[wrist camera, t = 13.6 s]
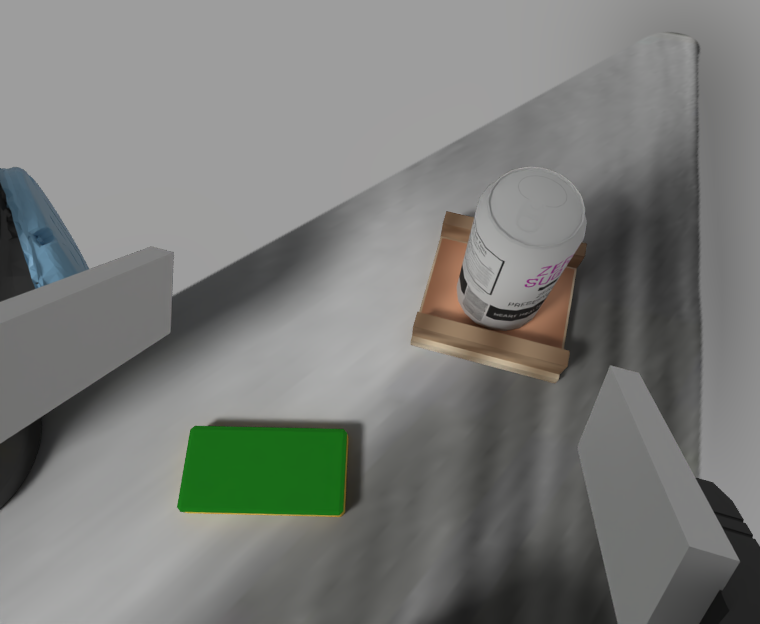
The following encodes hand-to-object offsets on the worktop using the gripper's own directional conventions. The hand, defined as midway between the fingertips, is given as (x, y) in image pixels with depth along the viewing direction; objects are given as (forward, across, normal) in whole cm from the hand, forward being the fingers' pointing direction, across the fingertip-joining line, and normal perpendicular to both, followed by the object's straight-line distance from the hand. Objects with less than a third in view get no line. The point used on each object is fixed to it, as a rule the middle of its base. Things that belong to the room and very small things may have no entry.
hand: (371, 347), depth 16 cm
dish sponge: (+23, -10, -26) cm, 36 cm away
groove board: (+38, +6, -10) cm, 39 cm away
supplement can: (+37, +6, -9) cm, 38 cm away
